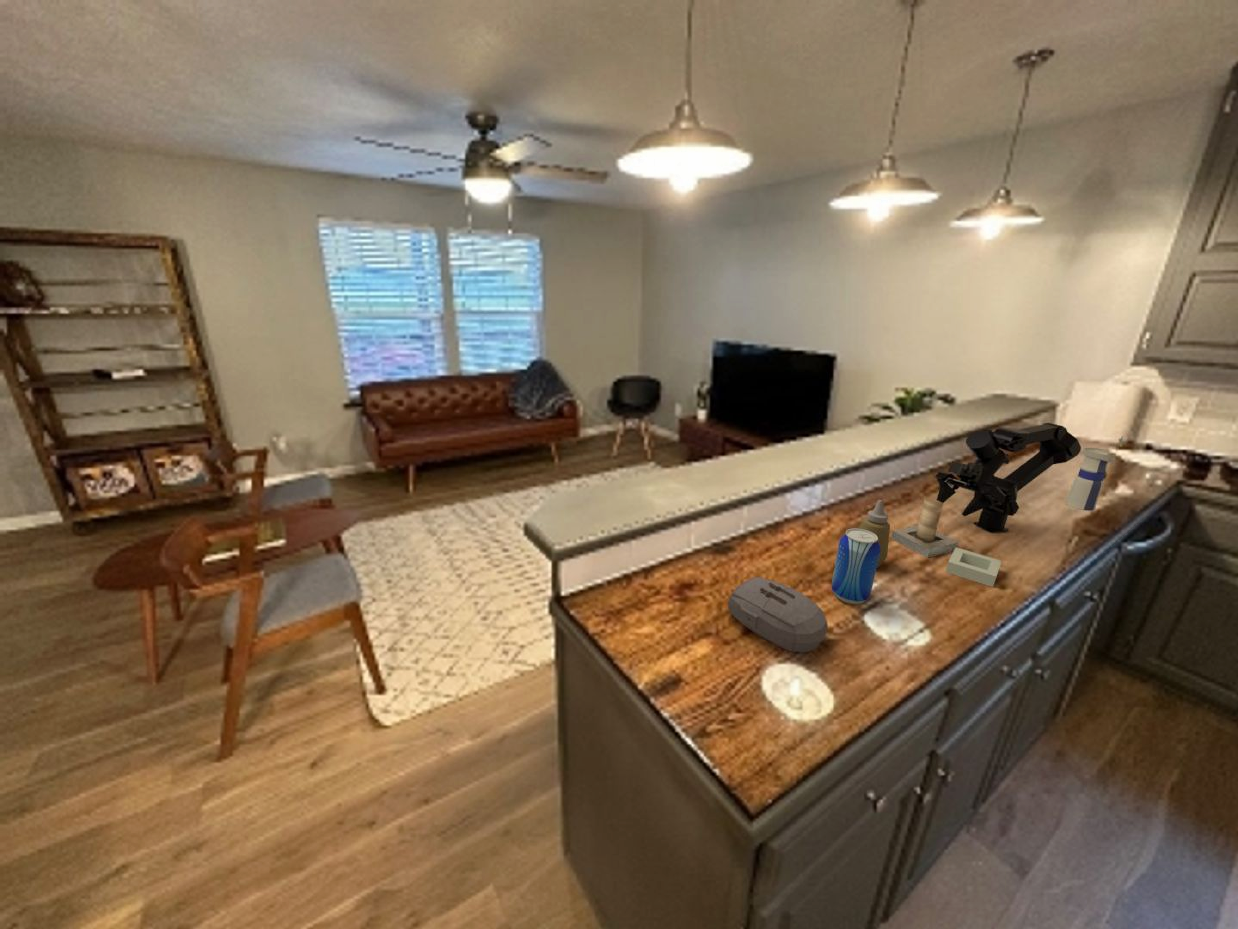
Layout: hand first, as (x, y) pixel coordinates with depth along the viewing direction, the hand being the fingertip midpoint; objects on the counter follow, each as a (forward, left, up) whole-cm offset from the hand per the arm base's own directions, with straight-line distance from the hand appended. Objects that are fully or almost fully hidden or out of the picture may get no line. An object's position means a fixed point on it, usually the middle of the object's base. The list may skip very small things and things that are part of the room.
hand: (949, 510), depth 141 cm
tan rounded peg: (+9, +2, -9) cm, 13 cm away
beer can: (+45, +20, -9) cm, 50 cm away
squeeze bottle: (+31, +8, -9) cm, 33 cm away
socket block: (+9, +2, -9) cm, 13 cm away
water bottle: (-65, -11, -9) cm, 66 cm away
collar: (+7, +17, -9) cm, 20 cm away
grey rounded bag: (+67, +27, -9) cm, 73 cm away
